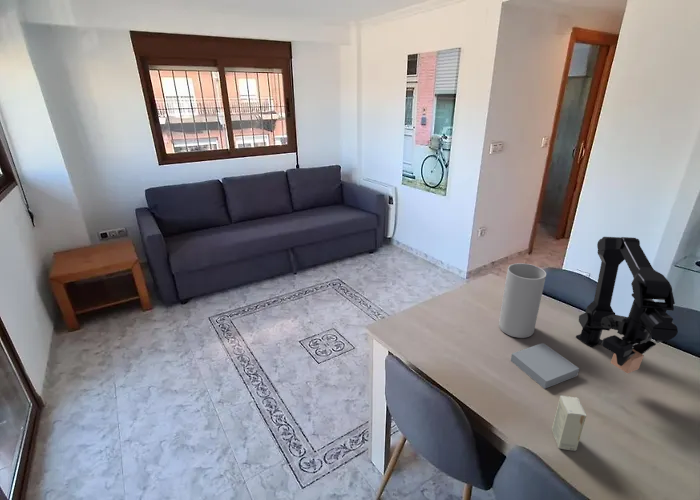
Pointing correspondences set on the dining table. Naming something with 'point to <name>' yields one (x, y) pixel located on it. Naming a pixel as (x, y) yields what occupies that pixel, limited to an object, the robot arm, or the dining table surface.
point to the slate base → (544, 365)
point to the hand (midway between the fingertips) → (625, 362)
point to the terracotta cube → (629, 362)
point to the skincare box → (568, 422)
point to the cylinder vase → (521, 299)
